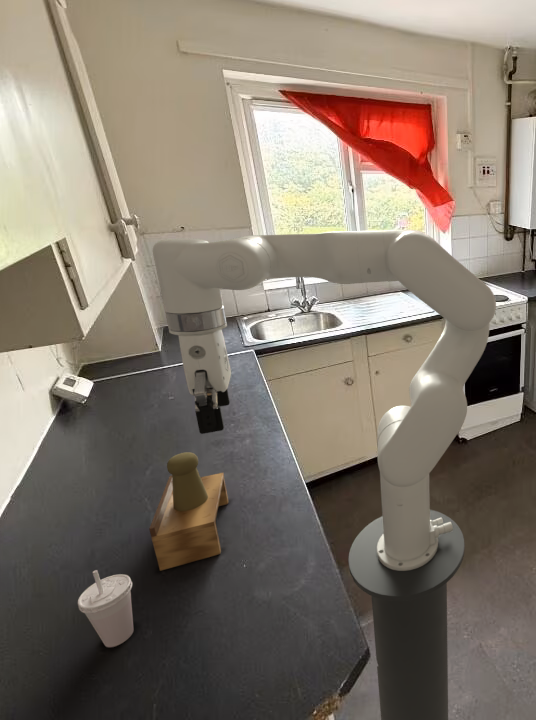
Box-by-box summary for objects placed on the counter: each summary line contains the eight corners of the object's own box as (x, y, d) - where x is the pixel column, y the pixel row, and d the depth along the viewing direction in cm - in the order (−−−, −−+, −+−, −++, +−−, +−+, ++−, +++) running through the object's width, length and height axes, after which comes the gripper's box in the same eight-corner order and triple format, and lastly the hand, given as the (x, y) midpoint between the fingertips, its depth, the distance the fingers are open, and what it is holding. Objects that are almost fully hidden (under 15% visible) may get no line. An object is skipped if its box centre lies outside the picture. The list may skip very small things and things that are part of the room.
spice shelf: (228, 500, 102) (221, 465, 99) (220, 553, 86) (212, 513, 83) (178, 513, 97) (169, 475, 94) (159, 571, 82) (149, 528, 79)
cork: (207, 505, 88) (197, 459, 85) (171, 514, 85) (160, 467, 82) (209, 489, 93) (200, 445, 90) (175, 497, 90) (165, 452, 87)
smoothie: (81, 656, 66) (56, 586, 62) (115, 618, 72) (94, 552, 68) (123, 655, 67) (101, 585, 63) (153, 617, 73) (135, 552, 69)
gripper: (219, 331, 60) (237, 437, 65) (230, 306, 75) (244, 394, 80) (154, 337, 57) (178, 448, 62) (179, 309, 72) (197, 401, 77)
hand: (216, 417), depth 71 cm, fingers open, 9 cm apart
